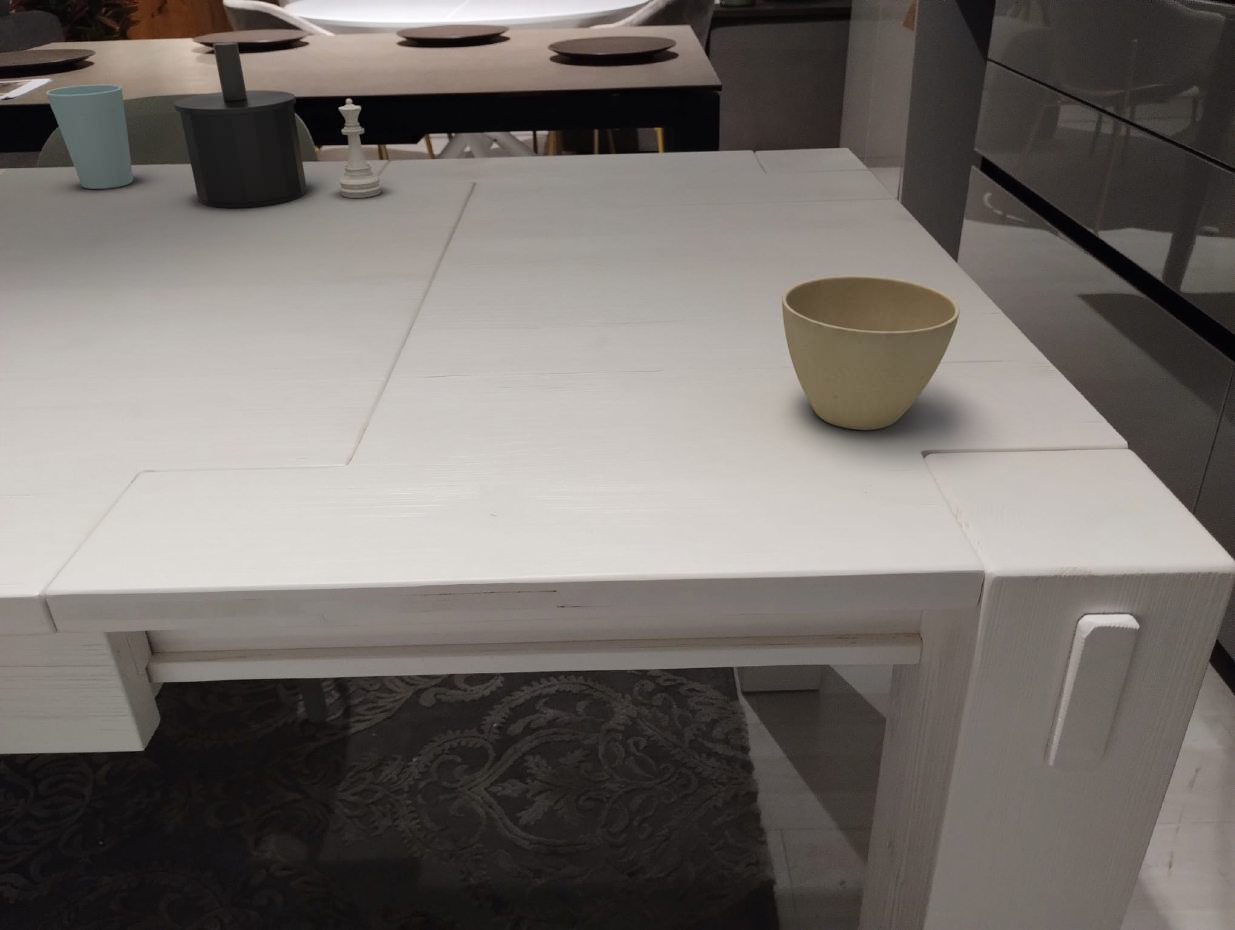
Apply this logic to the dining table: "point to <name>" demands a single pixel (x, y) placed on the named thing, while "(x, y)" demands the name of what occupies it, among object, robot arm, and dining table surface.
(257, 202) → the pot
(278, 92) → the pot lid
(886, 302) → the flower pot
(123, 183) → the cup
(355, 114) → the chess piece
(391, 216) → the dining table surface
